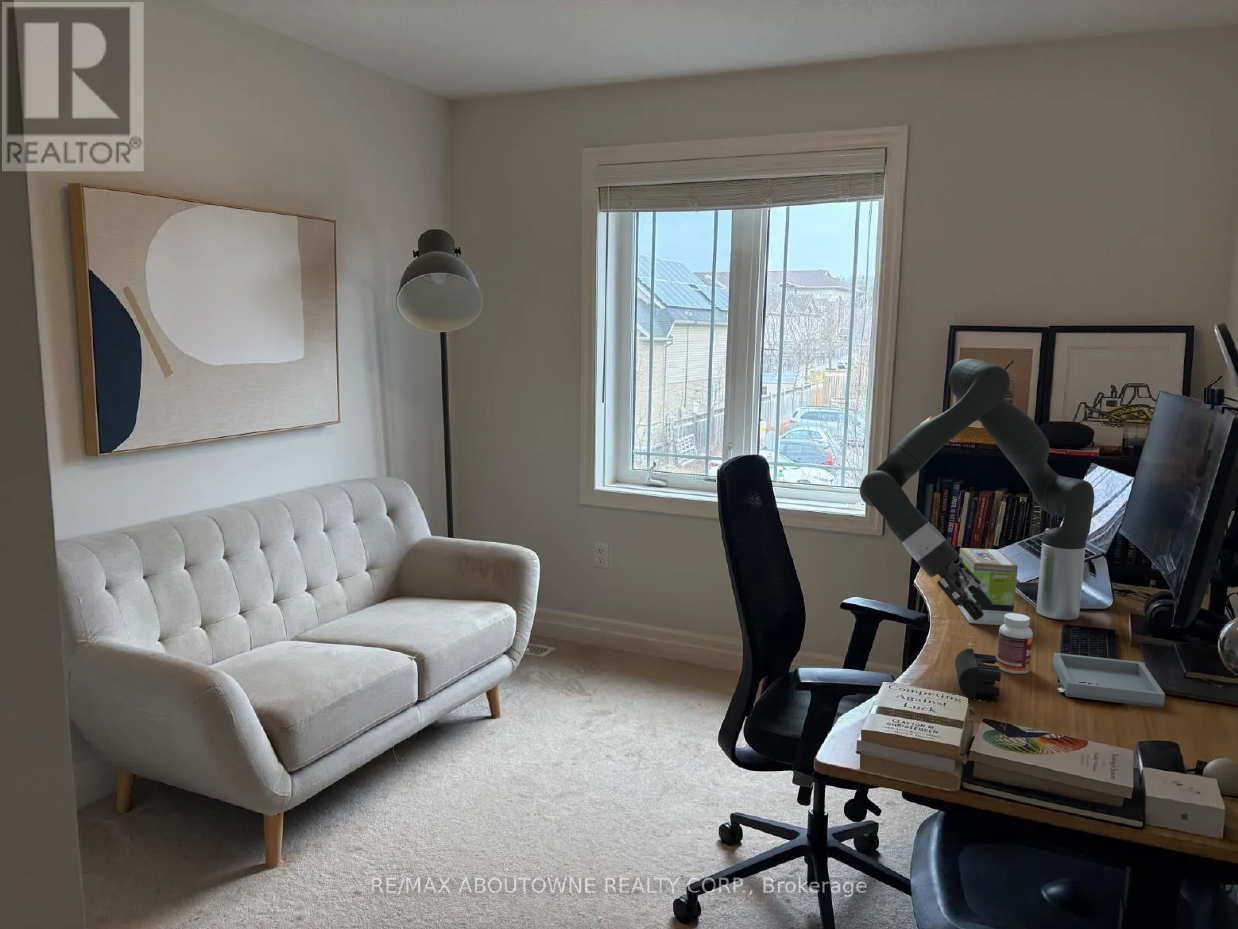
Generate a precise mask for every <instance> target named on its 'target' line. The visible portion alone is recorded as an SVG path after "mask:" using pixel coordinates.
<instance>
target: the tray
mask: <svg viewBox="0 0 1238 929" xmlns="http://www.w3.org/2000/svg"><path fill="white" fill-rule="evenodd" d="M1052 666H1053V669H1054V670H1055V671H1054V672H1055V673H1056V676H1057V678H1058V681H1059V682H1060V685H1061V684H1063V686H1064V689H1065V692H1064V694H1065V696H1066V697H1071V698H1078V699H1087V700H1094V701H1102V702H1112V703H1120V704H1129V705H1137V706H1144V707H1152V708H1160V709H1164V707H1165V698H1166V693H1165V692H1164V691H1163V689H1162V688H1161V686H1160V685H1159V683H1158V682H1157V680H1156V679H1155V678H1154V676H1153V675H1152V673H1151V672H1150V671H1149V669H1148V667H1146V665H1145V663H1144V662H1142V661H1136V660H1135V661H1134V660H1125V659H1117V658H1109V657H1107V658H1105V657H1098V656H1097V657H1096V656H1087V655H1079V654H1078V655H1077V654H1069V653H1061V652H1060V653H1059V652H1053V658H1052ZM1079 682H1086V683H1079ZM1088 683H1091V684H1088ZM1097 684H1098V685H1097Z"/></svg>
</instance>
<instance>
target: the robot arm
mask: <svg viewBox="0 0 1238 929" xmlns="http://www.w3.org/2000/svg"><path fill="white" fill-rule="evenodd" d="M948 384H949V388H950V390H951V392H952V394H953V395H954V396H955V397H956V399H958V401H957V402H956V403H955V404H954V405H953V406H951V407H950V408H948V409H947V410H945V411H944V412H942V413H940V414H938V415H936V416H934V417H932V418H930V419H928V420H927V421H924V422H922V423H921V424H919V425H918V426H916V427H915V428H913V429H912V430H910V431H909V433H907V434H906V435H904V437H903V438H902V439H901V440H900V441H899V442H898V443H897V444H896V445H895V446H894V447H893V449H892V450H890V452H889V454H888V455H887V457H886V458H885V460H884V461H883V462H881V463H880V464H879V465H878V466H877V468H875V469H874V470H873V471H870V472H868V473H867V474H866V475H865V476H864V477H863V479H862V481H861V483H860V487H859V496H860V497H861V500H862V501H863V502H864V504H866V505H868V506H870V507H874V508H875V509H876V510H877V511H878V513H879V514H880V515H881V516H882V517H883V518H884V520H885V522H886V525H887V526H888V527H889V529H890V531H891V532H892V533H893V534H894V535H895V537H896V538H897V539H898V540H899V541H900V543H902V545H903V547H904V548H905V550H906V551H907V552H908V554H910V556H911V557H912V558H913V559H914V560H915V562H916V563H917V564H918V565H919V567H920V568H921V569H922V570H923V571H924V572H925V573H926V575H927V576H928V577H930V578H934V577H935V576H939V578H940V579H939V580H938V581H937V585H938V586H939V588H940V589H941V590H942V591H943V592H944V594H945V595H946V596H947V598H948V599H949V600H950V601H951V602H952V603H953V604H954V606H955V607H958V605H960V606H961V607H962V606H963V608H964V609H965V610H966V611H967V612H968V613H969V615H970V616H971V617H972V618H973V619H974V620H978V619H979V618H981V617H982V616H983V615H984V613H983V612H982V610H981V609H980V608H979V607H978V606H977V605H976V604H975V602H974V601H973V600H971V598H970V596H969V594H968V593H970V594H971V595H972V594H973V595H972V597H973V598H974V599H975V600H976V601H977V602H978V603H979V605H980V606H981V607H982V608H983V609H986V608H988V607H989V606H991V605H992V601H991V600H990V599H989V598H988V597H987V595H986V594H985V593H984V592H983V591H982V590H981V589H980V588H981V586H980V585H979V584H981V583H980V581H979V580H978V579H977V578H976V577H975V575H974V574H973V573H972V572H971V571H970V570H969V569H968V568H967V567H966V566H965V564H964V563H963V562H959V561H958V563H956V561H957V560H959V554H960V553H958V551H957V550H956V549H955V548H954V547H953V546H952V545H951V544H950V543H949V541H948V540H947V539H946V538H945V536H943V534H942V533H941V532H940V531H939V530H938V529H937V528H936V527H934V526H933V524H932V523H931V522H929V520H928V519H927V518H926V517H925V515H923V513H922V512H921V511H920V510H919V509H918V508H917V507H916V506H915V505H914V504H913V503H912V502H911V500H910V499H909V497H908V495H907V494H906V493H905V491H904V490H903V489H902V488H903V487H904V485H905V484H906V483H907V482H908V481H909V480H910V478H912V477H913V476H914V475H916V474H917V473H918V472H919V471H920V470H921V469H922V468H923V467H924V466H925V465H926V464H927V463H928V462H929V461H930V459H932V458H933V457H934V456H935V455H936V453H938V452H939V451H940V450H941V449H942V448H943V447H944V446H945V445H947V443H949V442H950V441H951V440H952V439H954V437H955V438H956V436H957V435H959V434H960V433H961V432H962V431H964V430H965V429H967V428H968V427H969V426H971V425H972V424H973V423H974V422H976V421H979V423H980V424H981V425H982V426H983V428H984V429H985V431H986V432H987V434H988V435H989V436H990V437H991V439H992V440H993V441H994V443H996V445H997V447H998V448H999V449H1000V451H1001V452H1002V453H1003V455H1004V456H1005V457H1006V459H1008V462H1010V463H1011V464H1012V465H1013V467H1014V468H1015V469H1016V471H1017V472H1018V473H1019V475H1020V476H1021V477H1022V479H1023V480H1024V481H1025V483H1026V485H1027V486H1028V488H1029V490H1030V491H1031V494H1032V495H1033V497H1034V498H1035V501H1036V502H1037V504H1038V506H1040V508H1041V509H1042V510H1043V511H1045V512H1047V513H1049V514H1052V515H1055V516H1056V515H1057V516H1061V517H1063V518H1062V524H1061V525H1060V526H1058V527H1055V528H1054V527H1053V528H1049V529H1048V528H1047V529H1046V530H1044V531H1043V532H1042V539H1041V540H1042V541H1041V551H1040V563H1039V573H1038V576H1039V577H1038V586H1037V587H1038V589H1037V597H1036V599H1037V600H1036V613H1037V614H1038V615H1040V616H1043V617H1046V618H1048V619H1049V618H1050V619H1055V620H1060V621H1061V620H1063V621H1064V620H1065V621H1071V620H1072V621H1073V620H1077V619H1079V617H1080V608H1081V598H1082V590H1083V576H1084V567H1085V558H1086V557H1085V555H1086V544H1087V540H1088V538H1089V535H1090V532H1091V526H1092V520H1093V519H1092V518H1093V512H1094V504H1095V490H1094V487H1093V485H1092V484H1091V482H1089V481H1087V480H1084V479H1080V478H1073V477H1067V476H1062V475H1059V474H1058V473H1056V472H1055V471H1054V470H1053V469H1052V467H1051V466H1050V465H1049V463H1048V458H1049V455H1050V443H1049V441H1048V439H1047V437H1046V435H1045V434H1044V433H1043V431H1042V429H1040V427H1039V426H1038V424H1036V422H1035V421H1034V420H1032V418H1031V417H1030V416H1029V415H1027V413H1026V412H1024V411H1022V410H1021V409H1020V408H1019V407H1017V406H1016V405H1014V404H1013V403H1012V402H1010V401H1009V400H1008V399H1007V398H1005V396H1007V394H1008V393H1009V389H1010V388H1011V387H1010V386H1011V378H1010V374H1009V373H1008V371H1007V370H1006V369H1005V368H1004V367H1002V366H999V365H996V364H994V363H991V362H987V361H984V360H982V359H976V358H965V359H961V360H959V361H957V362H956V363H955V364H954V365H953V366H952V367H951V370H950V372H949V376H948ZM967 579H968V580H967Z"/></svg>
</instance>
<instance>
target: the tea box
mask: <svg viewBox="0 0 1238 929" xmlns="http://www.w3.org/2000/svg"><path fill="white" fill-rule="evenodd" d="M958 554H959V558H958V563H959V562H963V563H964V564H965V566H966V567H967V568H968V569H969V570H970V571H971V572H972V573H973V574H974V575H975V577H976V578H977V579H978V580H979V581H980V583H981V584H979V585H980V586H981V588H980V589H981V590H982V591H983V592H984V593H985V594H986V595H987V597H988V598H989V599H990V600H991V601H992V605H991V606H989V607H988V608H986V609H983V608H982V607H981V606H980V605H979V603H978V602H977V601H976V600H975V599H974V598H973V597H972V595H973V594H972V595H971V594H970V593H968V594H969V596H970V598H971V600H973V601H974V602H975V604H976V605H977V606H978V607H979V608H980V609H981V610H982V612H983V613H984V615H983V616H982V617H981V618H979V619H978V620H974V619H973V618H972V617H971V616H970V615H969V613H968V612H967V611H966V610H965V609H964V608H963V606H962V607H961V606H960V605H958V606H957V607H958V609H959V610H960V612H961V613H962V615H963V616H964V617H965V619H966V620H967V622H968V623H970V624H977V625H991V626H993V625H995V626H1002V625H1003V624H1005V622H1004V615H1005V614H1007V613H1015V612H1014V609H1015V601H1016V599H1015V598H1016V590H1017V578H1018V568H1019V567H1018V566H1019V565H1018V564H1017V563H1016V562H1014V561H1013V560H1012V559H1011V558H1010V557H1009V556H1008V555H1006V554H1005V553H1004V552H1003V551H1002V550H1001V549H993V548H991V549H990V548H988V549H987V548H969V547H960V548H959V553H958ZM967 580H968V579H967Z"/></svg>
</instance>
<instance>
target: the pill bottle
mask: <svg viewBox="0 0 1238 929" xmlns="http://www.w3.org/2000/svg"><path fill="white" fill-rule="evenodd" d="M1030 621H1031V618H1030V617H1029V616H1028V615H1026V614H1022V613H1015V612H1013V613H1007V614H1005V615H1004V622H1005V624H1003V625H1000V627H999V629H998V630H999V631H998V642H997V651H996V652H997V654H996V659H997V663H996V666H999V668H1000V671H1002V672H1004V673H1006V674H1007V673H1009V674H1013V675H1024V674H1028V673H1029V672H1030V669H1031V659H1032V647H1033V638H1034V637H1033V636H1034V635H1033V634H1034V632H1033V630H1032V629H1031V628H1030V627H1029V626H1030V625H1031V624H1030V623H1031V622H1030Z"/></svg>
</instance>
